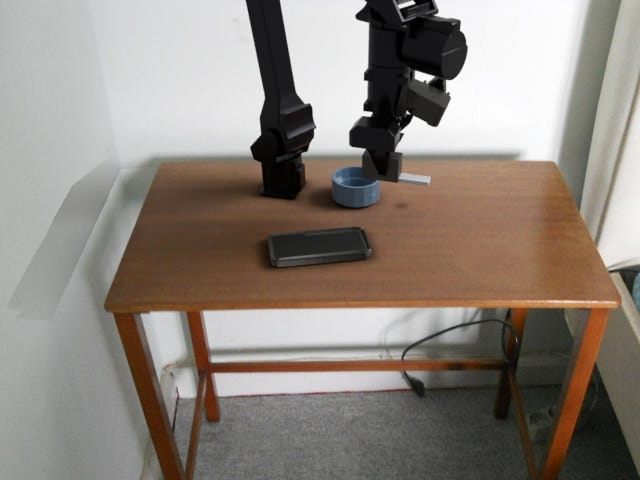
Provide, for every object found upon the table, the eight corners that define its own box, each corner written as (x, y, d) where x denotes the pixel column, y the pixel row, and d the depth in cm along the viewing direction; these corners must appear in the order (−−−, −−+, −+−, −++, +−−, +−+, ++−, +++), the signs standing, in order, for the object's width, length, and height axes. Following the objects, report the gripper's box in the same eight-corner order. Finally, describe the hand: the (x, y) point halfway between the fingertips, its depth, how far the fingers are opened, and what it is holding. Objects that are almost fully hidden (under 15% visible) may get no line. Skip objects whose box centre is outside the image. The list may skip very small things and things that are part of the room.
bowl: (326, 205, 113) (325, 184, 110) (340, 184, 119) (339, 163, 116) (372, 212, 112) (373, 190, 109) (384, 190, 118) (385, 169, 115)
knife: (361, 178, 100) (362, 155, 98) (366, 170, 102) (366, 147, 100) (427, 187, 98) (429, 164, 96) (430, 179, 100) (432, 156, 98)
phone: (372, 252, 100) (271, 261, 98) (372, 258, 101) (272, 267, 99) (362, 225, 106) (267, 233, 104) (362, 231, 107) (267, 239, 104)
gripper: (436, 92, 81) (426, 208, 92) (459, 46, 95) (448, 151, 105) (348, 82, 83) (347, 197, 93) (383, 38, 97) (379, 142, 107)
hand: (384, 170), depth 100 cm, fingers closed on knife, 2 cm apart
